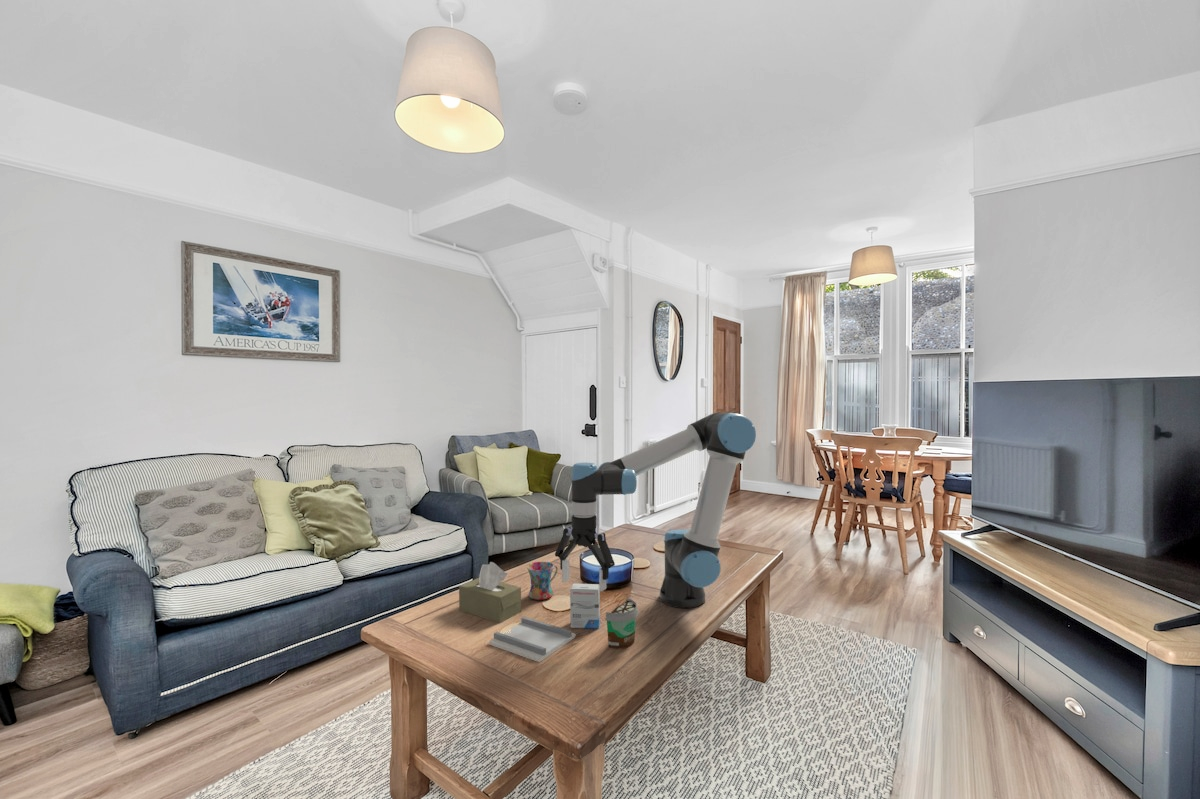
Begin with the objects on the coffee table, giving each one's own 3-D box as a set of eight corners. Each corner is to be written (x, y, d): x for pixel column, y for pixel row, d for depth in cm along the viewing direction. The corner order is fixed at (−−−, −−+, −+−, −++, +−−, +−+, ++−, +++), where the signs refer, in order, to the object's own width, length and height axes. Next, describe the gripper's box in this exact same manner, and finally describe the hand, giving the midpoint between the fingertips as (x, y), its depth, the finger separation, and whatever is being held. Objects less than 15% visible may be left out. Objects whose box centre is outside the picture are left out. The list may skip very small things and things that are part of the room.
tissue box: (522, 612, 163) (521, 563, 163) (500, 624, 155) (500, 572, 155) (480, 599, 173) (479, 553, 173) (458, 610, 165) (457, 561, 165)
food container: (625, 655, 135) (625, 617, 135) (605, 649, 139) (605, 612, 138) (646, 636, 146) (646, 601, 146) (627, 631, 149) (627, 597, 149)
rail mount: (575, 637, 146) (575, 628, 146) (539, 662, 132) (539, 652, 132) (527, 622, 155) (527, 614, 155) (489, 644, 142) (489, 635, 142)
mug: (538, 604, 169) (538, 572, 169) (521, 596, 175) (521, 566, 175) (566, 594, 177) (565, 563, 177) (549, 587, 184) (548, 557, 184)
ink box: (600, 621, 155) (600, 583, 155) (598, 629, 151) (598, 589, 150) (572, 620, 156) (572, 582, 156) (570, 628, 151) (569, 588, 151)
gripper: (626, 517, 149) (626, 589, 150) (558, 507, 163) (558, 573, 163) (612, 523, 143) (612, 598, 143) (543, 511, 157) (543, 580, 157)
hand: (583, 585), depth 153 cm, fingers open, 13 cm apart
